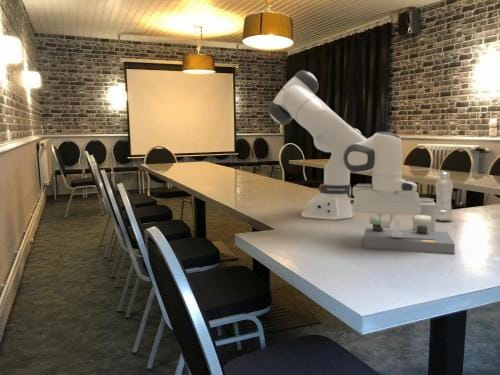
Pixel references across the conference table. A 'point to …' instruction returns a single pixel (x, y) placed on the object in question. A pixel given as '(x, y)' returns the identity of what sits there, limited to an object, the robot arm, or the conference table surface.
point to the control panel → (408, 240)
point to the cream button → (422, 219)
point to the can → (427, 213)
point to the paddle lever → (397, 229)
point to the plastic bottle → (443, 197)
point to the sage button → (376, 220)
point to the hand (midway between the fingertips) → (385, 227)
